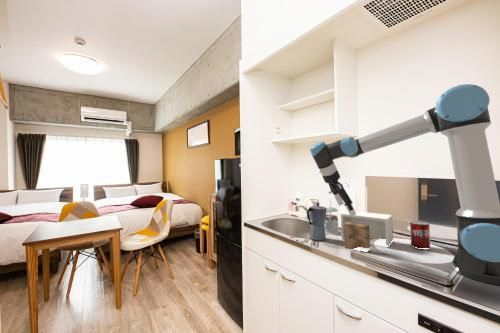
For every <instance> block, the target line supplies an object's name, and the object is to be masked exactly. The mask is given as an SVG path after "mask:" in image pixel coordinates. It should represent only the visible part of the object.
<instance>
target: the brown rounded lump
mask: <svg viewBox="0 0 500 333" xmlns="http://www.w3.org/2000/svg"><path fill="white" fill-rule="evenodd" d="M344 235H345V240H344V248H345V249H348V250H351V249H354V248H357V247H363V248H369V247H370V248H371V245H370V231H369V225H366V224H359V223H352V222H346V223H344Z"/></svg>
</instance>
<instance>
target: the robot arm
mask: <svg viewBox="0 0 500 333" xmlns="http://www.w3.org/2000/svg"><path fill="white" fill-rule="evenodd" d="M490 100H491V99H490V95H489V94H488V92H487V91H486V89H485V88H483V87H481V86H480V85H476V84H472V83H468V84H466V83H465V84H464V83H463V84H460V85H459V84H458V85H455V86H452V87H450V88H448V89H447V90H446V91H444V92H443V93H442V94H441V95H440V96H439V98H438V99H437V101H436V103H435V106H434V107H432V108H430V109H428V110H425V112H424V113H423V114H421V115H418V116H415V117H413V118H410V119H407V120H405V121H403V122H398V123H397V124H394V125H391V126H389V127H386V128H383V129H381V130H378V131H375V132H372V133H370V134H367V135H365V136H361V137H358V138H356V139H355V138H354V137H353V136H348V137H344V138H342V139H339V140H337V141H335V142H331V143H327V144H326V142H324V141H322V140H321V141H319V142H316V143H314V144H313V145H311V146H309V147H310V148H309V151H310V153H311V157H312V158H313V160H314V163H315V164H316V166H317V168H318V173H320V175H321V176H322V179H323V181H324V183H326V184H328V187H329V190H330V191H331V192H332V193H331V194H332V195H333V196H334V199H335V200H336V201H335V202H336V203H337V205H338V206H339V207H340V206H343V205H344V207H345V208H346V211H348V212H349V214H350V216H351V217H352V216H354V215H356V212H355V211H356V210H355V208H354V206H353V201H352V199H351V197H350V196H349V195H348V192H347V191H346V190H345V188H344V186H343V184H342V183H341V182H339V179H340V178H341V175H340V172H339V171H338V168H337V165H336V163H335V162H334V160H337V159H339V158H350V159H351V158H352V159H353V158H356V157H359V156H361V155H364V154H365V153H370V152H373V151H376V150H379V149H383V148H385V147H389V146H391V145H395V144H397V143H401V142H404V141H407V140H410V139H414V138H416V137H420V136H423V135H425V134H429V133H434V134H438V133H440V134H442V135H443V136H446V137H447V141H448V146H449V152H450V157H451V162H452V168H453V173H454V178H455V179H454V180H455V184H456V190H457V195H458V199H459V200H458V201H459V205H460V208H458V209H457V210H456V212H455V218H456V231H457V233H456V235H457V250H456V252H455V254H454V256H453V259H452V260H451V261H452V264H453V265H454V266H455V267H458V268H459V272H460V274H459V275H461V276H464V277H466V278H469V279H471V280H474V281H479V282H482V283H487V284H493V285H500V199H499V194H498V189H497V184H496V179H495V178H496V177H495V174H494V170H493V165H492V159H491V154H490V149H489V144H488V139H487V135H486V134H487V133H486V129H487V128H488V127H490V125H491V124H492V122H491V117H490V111H489V104H490ZM452 264H451V265H452Z"/></svg>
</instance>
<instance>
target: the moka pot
mask: <svg viewBox="0 0 500 333" xmlns="http://www.w3.org/2000/svg"><path fill="white" fill-rule="evenodd" d="M306 214H307V219H308V224H309V225H310V232H309V239H310V240H313V241H319V242H320V241H322V242H323V241H326V234H325V225H324V224H325V219H326V215H327V207H326V206H321V205H320V202H317V203H316V205H313V206H310V207H308V209H307V211H306Z"/></svg>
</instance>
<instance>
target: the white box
mask: <svg viewBox="0 0 500 333" xmlns="http://www.w3.org/2000/svg"><path fill="white" fill-rule="evenodd" d="M355 212H356V215H354V216H352V217H351V216H350V214H349V212H348V210H346V211H344V212H342V213H340V227H341V228H340V229H341V230H340V234H341V240H344V241H345V235H344V223H346V222H352V223H359V224H366V225H369V231H370V241H371V240H373V239H378V238H381V239H386V245H388V246H389V244H390V243H391V241H392V240H393V241H394V236H393V235H394V234H393V233H394V232H393V230H394V229H393V215H392V214H386V213H377V212H365V211H359V210H358V211H357V210H355Z"/></svg>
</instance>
